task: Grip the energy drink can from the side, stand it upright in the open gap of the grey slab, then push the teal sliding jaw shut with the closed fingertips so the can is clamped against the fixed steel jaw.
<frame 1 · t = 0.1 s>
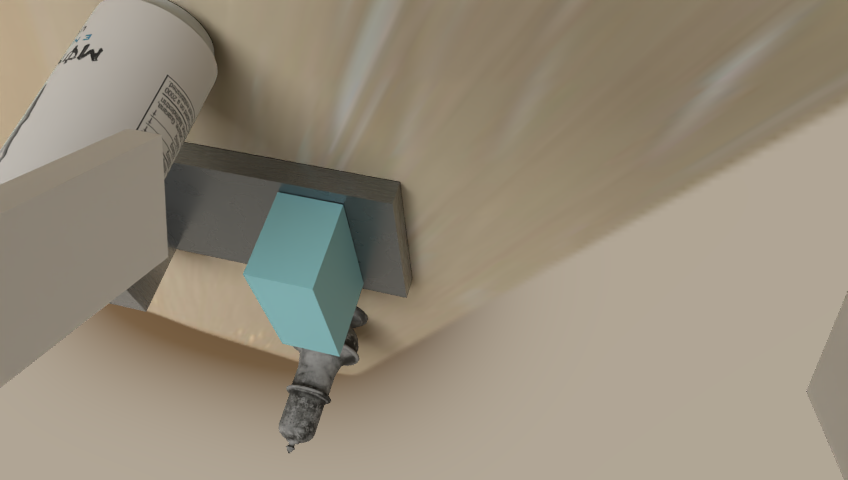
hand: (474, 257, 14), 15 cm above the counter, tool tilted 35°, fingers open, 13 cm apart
energy drink can: (166, 30, 35), on the counter
sliding jaw: (310, 279, 44), point 4 cm above the counter, slide at 0.0 cm
salt shaker: (337, 308, 60), on the counter
grey slab: (245, 204, 47), on the counter
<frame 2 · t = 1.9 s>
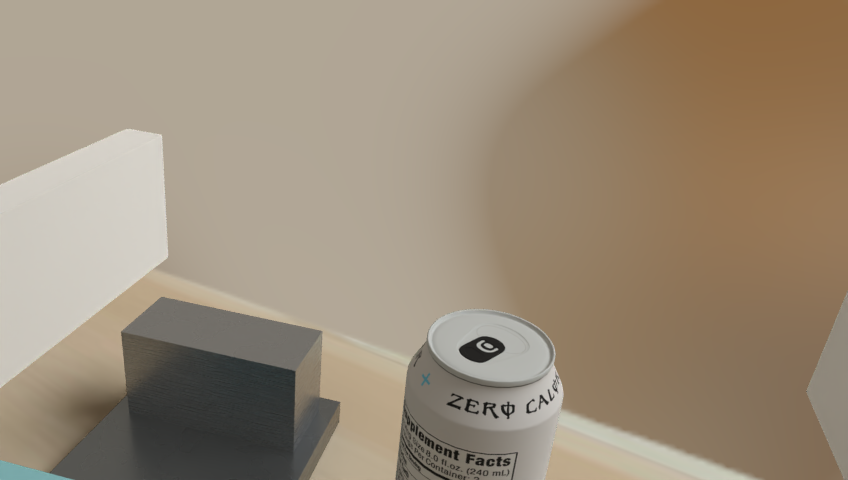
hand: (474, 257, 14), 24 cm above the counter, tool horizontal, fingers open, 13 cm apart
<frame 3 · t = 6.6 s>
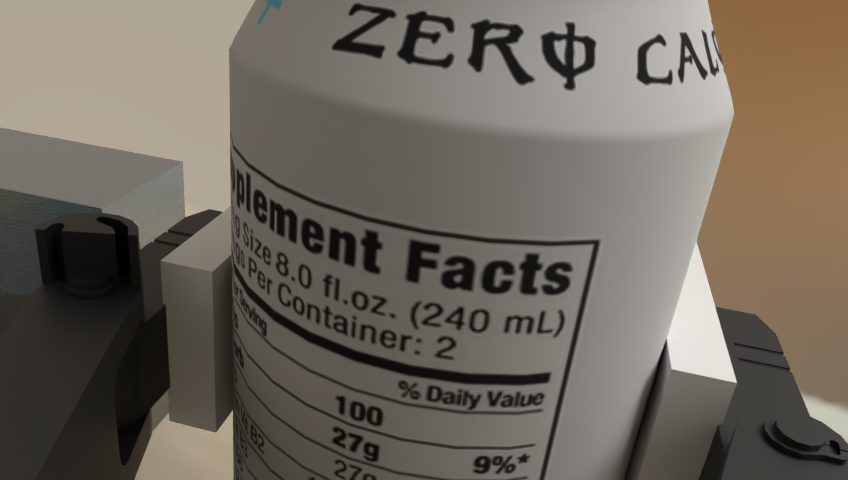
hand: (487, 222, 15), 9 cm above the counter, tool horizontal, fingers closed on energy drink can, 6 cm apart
when the fingers open (12 cm above the counter, at t = 11.0 s): energy drink can drops 1 cm, resting on grey slab.
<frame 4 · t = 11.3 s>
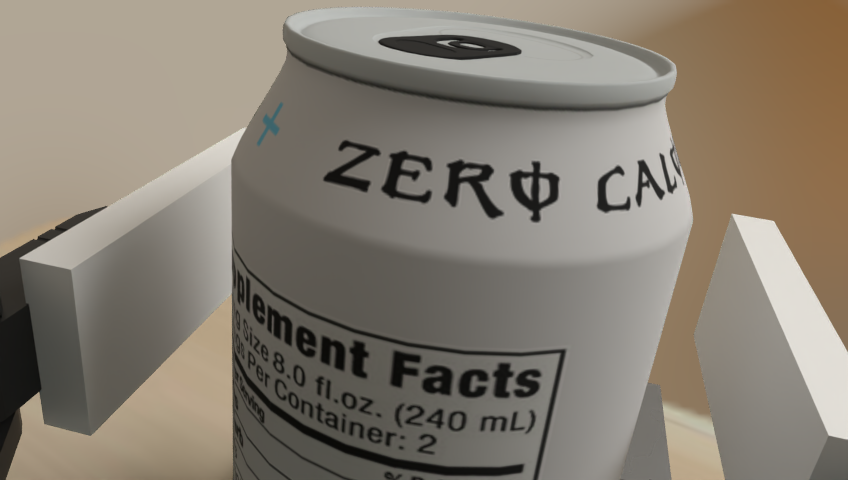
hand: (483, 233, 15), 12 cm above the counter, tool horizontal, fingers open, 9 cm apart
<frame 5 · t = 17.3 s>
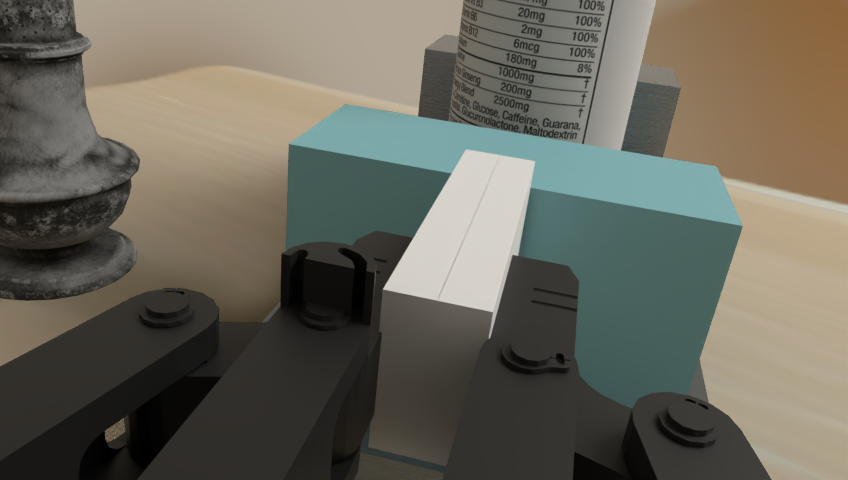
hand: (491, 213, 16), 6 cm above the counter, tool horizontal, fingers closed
energy drink can: (514, 240, 27), point 1 cm above the counter, touching grey slab
sliding jaw: (497, 256, 19), point 4 cm above the counter, slide at 0.1 cm, touching gripper
salt shaker: (54, 265, 25), on the counter
grey slab: (502, 294, 26), on the counter
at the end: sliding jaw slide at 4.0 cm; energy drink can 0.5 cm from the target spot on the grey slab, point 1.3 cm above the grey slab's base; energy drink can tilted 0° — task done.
